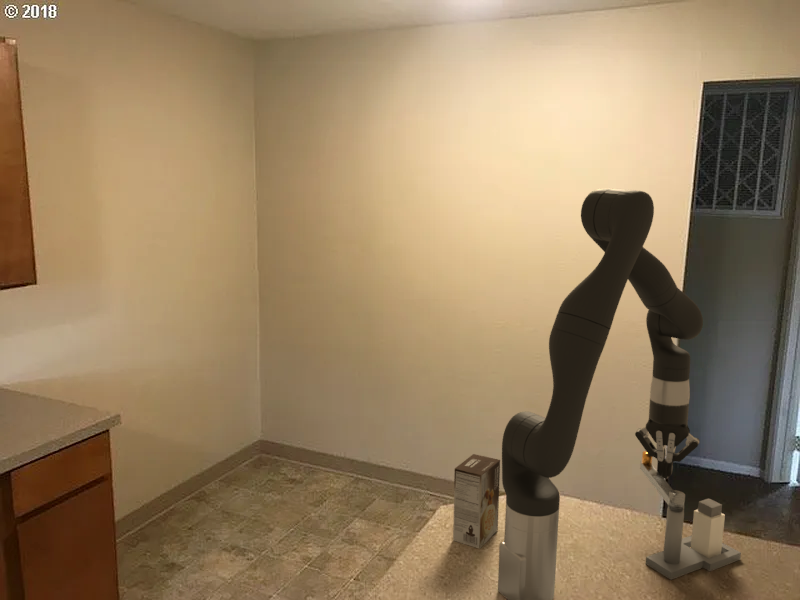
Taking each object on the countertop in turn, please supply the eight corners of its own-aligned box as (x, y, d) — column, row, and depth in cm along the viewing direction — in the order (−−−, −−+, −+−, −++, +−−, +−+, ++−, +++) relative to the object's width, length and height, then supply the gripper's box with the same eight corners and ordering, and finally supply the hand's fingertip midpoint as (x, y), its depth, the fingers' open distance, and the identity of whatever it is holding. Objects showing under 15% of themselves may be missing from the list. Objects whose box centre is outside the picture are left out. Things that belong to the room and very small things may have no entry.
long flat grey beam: (686, 512, 128) (688, 492, 127) (671, 511, 128) (673, 491, 127) (651, 468, 147) (652, 451, 146) (638, 468, 147) (639, 450, 146)
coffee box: (471, 522, 148) (473, 452, 145) (498, 530, 144) (501, 459, 142) (451, 541, 140) (453, 467, 137) (480, 550, 137) (482, 475, 134)
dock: (677, 584, 126) (682, 525, 124) (639, 560, 134) (644, 504, 132) (740, 559, 134) (746, 503, 132) (701, 538, 142) (706, 485, 140)
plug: (707, 561, 133) (712, 509, 132) (690, 551, 137) (694, 501, 135) (720, 556, 135) (726, 505, 133) (703, 547, 139) (708, 496, 137)
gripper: (632, 398, 140) (628, 477, 143) (701, 408, 134) (695, 491, 137) (639, 388, 147) (635, 464, 150) (706, 398, 140) (700, 477, 143)
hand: (664, 476), depth 143 cm, fingers closed
